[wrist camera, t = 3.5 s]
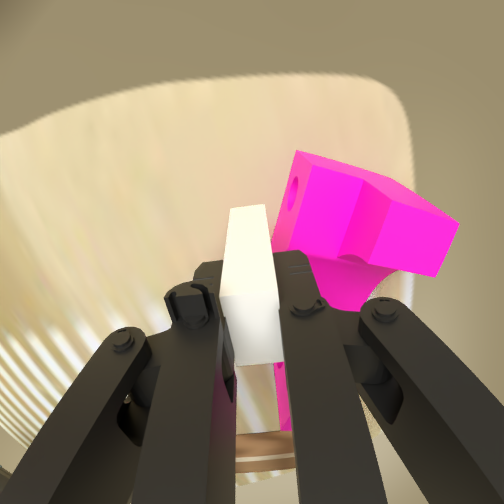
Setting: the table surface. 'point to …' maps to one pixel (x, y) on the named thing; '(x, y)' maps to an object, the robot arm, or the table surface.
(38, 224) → the table surface
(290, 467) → the walnut plank
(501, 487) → the robot arm
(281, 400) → the toy block
